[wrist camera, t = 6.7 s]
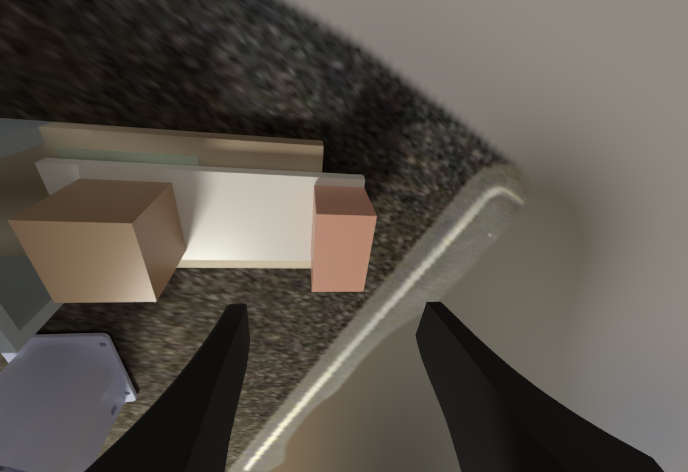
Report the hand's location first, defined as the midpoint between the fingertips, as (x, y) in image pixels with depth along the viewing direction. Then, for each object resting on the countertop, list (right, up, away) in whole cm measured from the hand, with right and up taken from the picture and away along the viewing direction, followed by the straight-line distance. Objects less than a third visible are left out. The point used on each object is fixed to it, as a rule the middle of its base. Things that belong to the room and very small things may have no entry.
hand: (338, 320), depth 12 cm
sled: (-7, +5, +6) cm, 11 cm away
